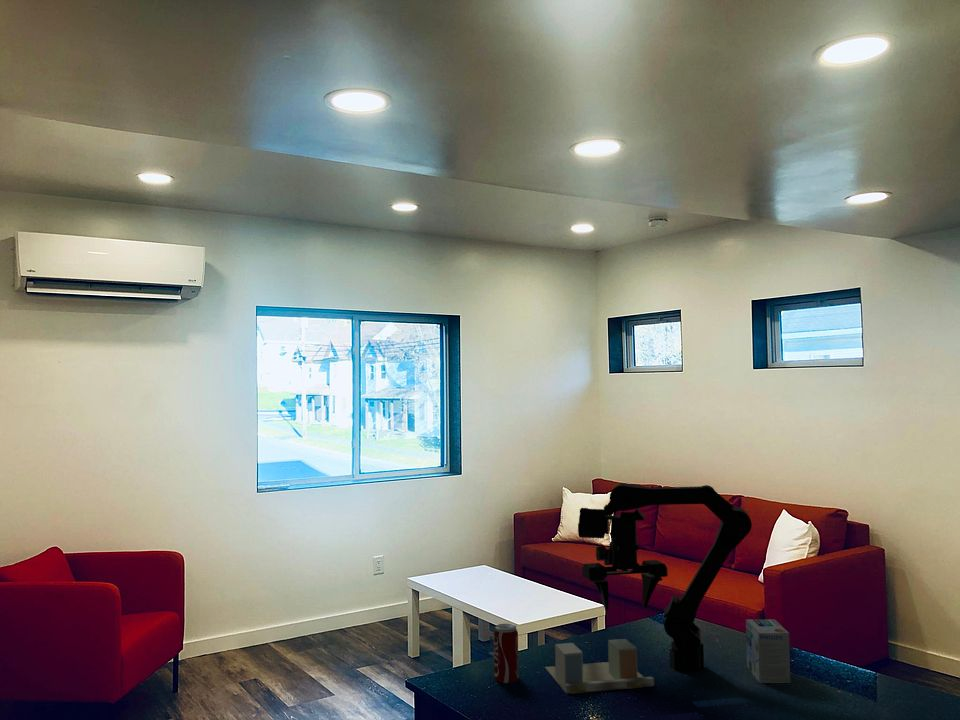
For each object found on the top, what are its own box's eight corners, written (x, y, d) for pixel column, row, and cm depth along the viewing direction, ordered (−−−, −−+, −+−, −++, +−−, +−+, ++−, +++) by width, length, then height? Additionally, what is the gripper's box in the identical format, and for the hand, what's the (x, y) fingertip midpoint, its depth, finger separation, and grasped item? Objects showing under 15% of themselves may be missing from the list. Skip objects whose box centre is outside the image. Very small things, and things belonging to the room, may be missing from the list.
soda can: (516, 688, 161) (515, 630, 161) (492, 686, 162) (491, 629, 162) (520, 679, 166) (519, 623, 166) (496, 678, 167) (496, 622, 168)
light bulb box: (746, 666, 172) (744, 618, 173) (776, 667, 172) (775, 618, 172) (759, 684, 162) (757, 632, 162) (792, 684, 161) (790, 632, 162)
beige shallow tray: (625, 665, 174) (624, 653, 174) (654, 691, 158) (654, 678, 158) (544, 671, 171) (544, 660, 171) (566, 698, 155) (566, 686, 155)
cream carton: (573, 675, 165) (572, 642, 165) (583, 687, 158) (582, 652, 159) (555, 677, 164) (555, 644, 165) (565, 688, 158) (564, 654, 158)
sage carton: (626, 671, 167) (625, 638, 168) (637, 682, 161) (637, 648, 161) (608, 672, 167) (608, 640, 167) (619, 683, 160) (619, 649, 160)
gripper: (648, 531, 185) (649, 597, 184) (574, 535, 181) (575, 601, 180) (667, 539, 174) (669, 609, 173) (589, 543, 170) (591, 614, 169)
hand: (625, 608), depth 174 cm, fingers open, 9 cm apart
